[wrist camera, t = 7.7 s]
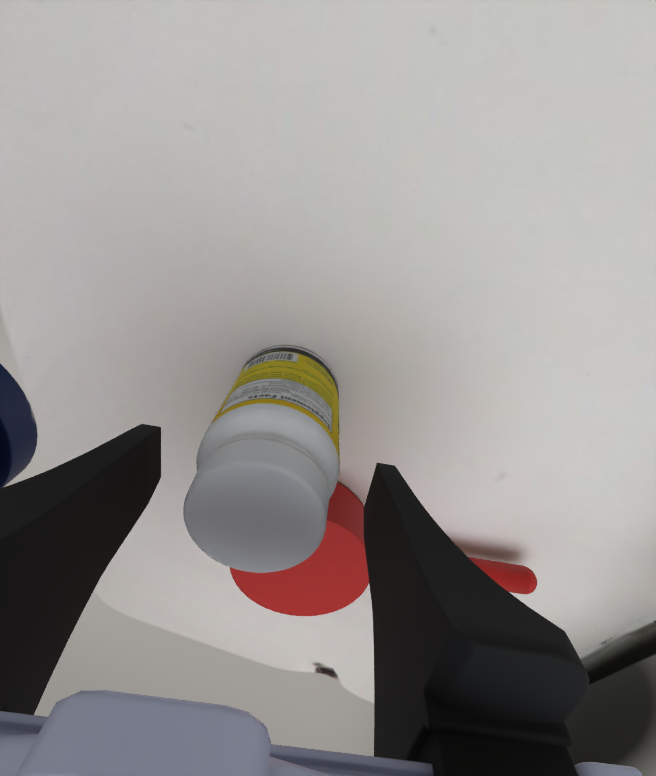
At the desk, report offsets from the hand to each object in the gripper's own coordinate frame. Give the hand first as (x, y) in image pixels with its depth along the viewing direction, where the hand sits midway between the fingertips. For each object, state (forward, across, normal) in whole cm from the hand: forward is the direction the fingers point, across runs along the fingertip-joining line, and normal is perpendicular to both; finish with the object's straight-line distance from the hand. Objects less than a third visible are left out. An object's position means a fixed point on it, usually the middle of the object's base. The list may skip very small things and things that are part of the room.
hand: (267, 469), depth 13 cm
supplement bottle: (+6, 0, 0) cm, 6 cm away
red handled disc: (+6, -7, +8) cm, 12 cm away
